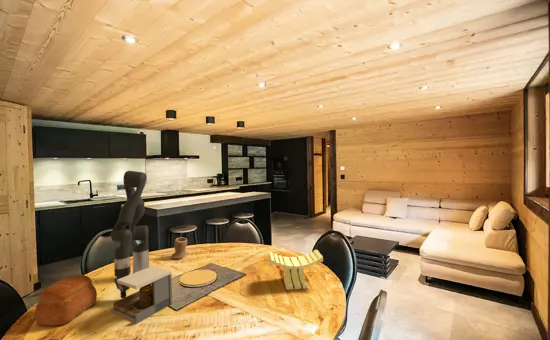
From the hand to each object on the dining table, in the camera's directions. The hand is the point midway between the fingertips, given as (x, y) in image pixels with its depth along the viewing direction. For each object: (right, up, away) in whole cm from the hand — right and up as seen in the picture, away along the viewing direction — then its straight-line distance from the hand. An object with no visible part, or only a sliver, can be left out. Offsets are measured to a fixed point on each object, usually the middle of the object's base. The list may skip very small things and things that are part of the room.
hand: (123, 297), depth 141 cm
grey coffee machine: (+14, -1, -8) cm, 17 cm away
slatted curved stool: (+95, 0, +17) cm, 96 cm away
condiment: (+15, -2, -7) cm, 16 cm away
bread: (-20, -2, -12) cm, 24 cm away
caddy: (+13, -1, -8) cm, 16 cm away
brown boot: (+7, 0, +67) cm, 67 cm away
